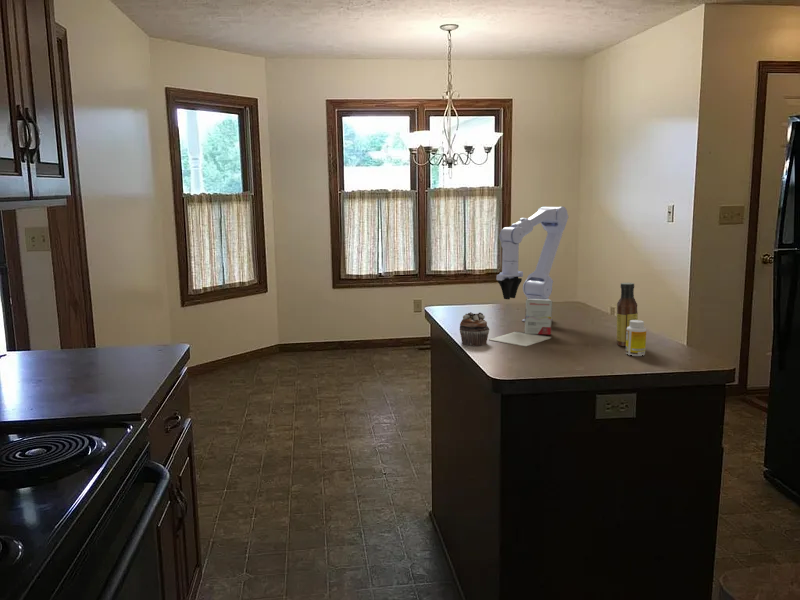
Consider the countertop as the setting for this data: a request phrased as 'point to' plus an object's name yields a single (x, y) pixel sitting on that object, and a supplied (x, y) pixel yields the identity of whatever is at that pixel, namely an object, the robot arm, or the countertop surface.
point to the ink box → (538, 316)
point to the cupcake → (474, 330)
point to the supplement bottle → (636, 338)
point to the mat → (520, 338)
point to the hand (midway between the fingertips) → (509, 298)
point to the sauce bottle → (625, 311)
